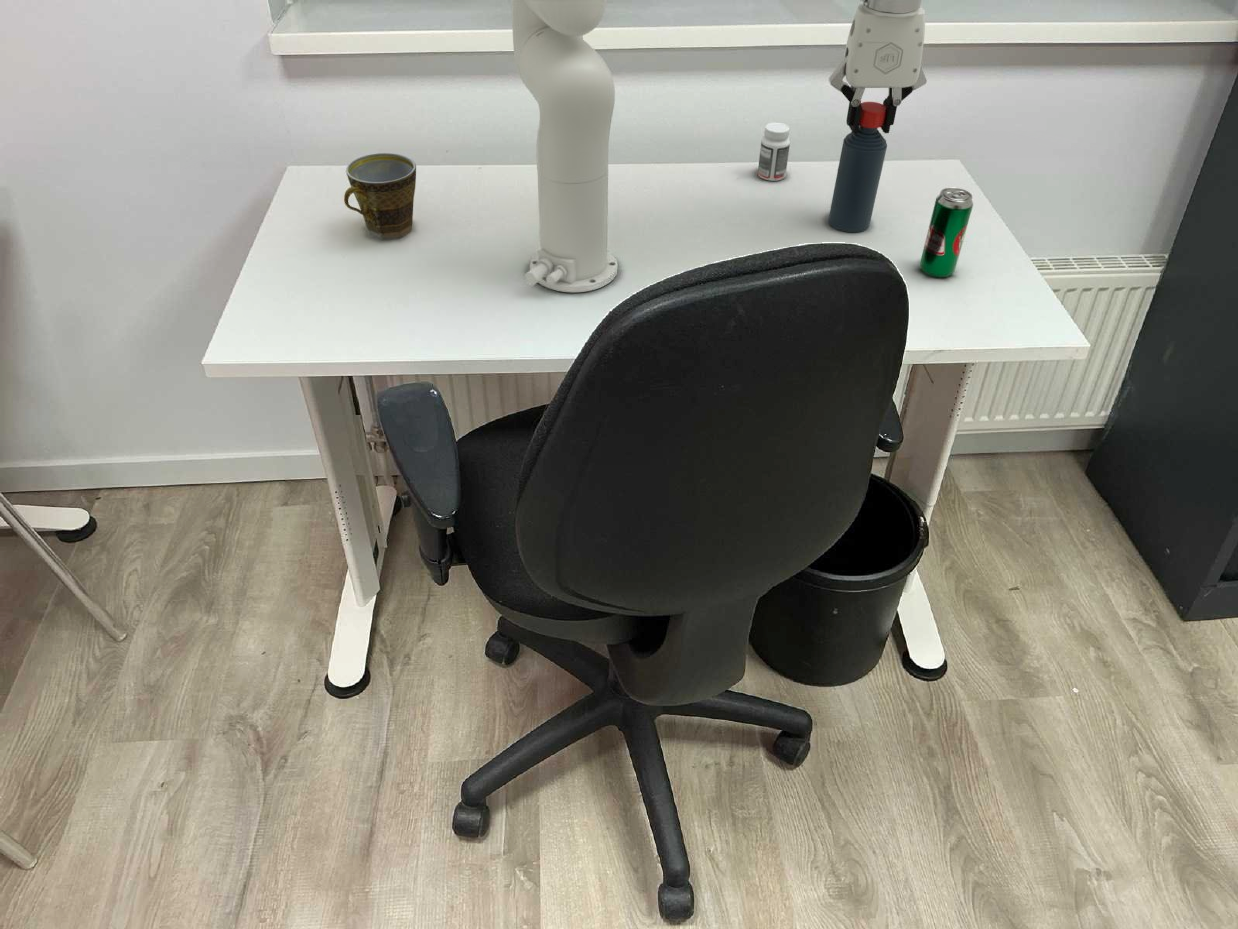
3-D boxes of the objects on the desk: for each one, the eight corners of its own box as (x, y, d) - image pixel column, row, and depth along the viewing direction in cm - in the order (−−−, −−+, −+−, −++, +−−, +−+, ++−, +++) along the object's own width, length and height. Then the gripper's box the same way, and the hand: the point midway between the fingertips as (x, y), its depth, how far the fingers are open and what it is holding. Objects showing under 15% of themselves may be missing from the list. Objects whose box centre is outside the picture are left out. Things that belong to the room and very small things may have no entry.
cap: (883, 119, 146) (886, 103, 145) (882, 129, 143) (886, 113, 142) (856, 116, 147) (859, 100, 145) (855, 126, 144) (858, 110, 142)
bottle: (869, 234, 153) (895, 121, 141) (828, 229, 154) (849, 116, 142) (869, 215, 158) (893, 104, 146) (828, 210, 158) (849, 100, 147)
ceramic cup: (386, 208, 156) (377, 146, 149) (436, 225, 152) (430, 163, 146) (328, 242, 148) (316, 179, 141) (380, 261, 144) (370, 197, 137)
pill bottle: (785, 169, 169) (791, 121, 164) (785, 182, 166) (792, 133, 160) (757, 168, 170) (763, 120, 164) (757, 180, 166) (763, 131, 160)
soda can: (911, 264, 146) (930, 188, 138) (940, 259, 148) (961, 183, 140) (931, 281, 143) (951, 204, 135) (961, 275, 144) (982, 199, 136)
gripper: (837, 6, 130) (817, 141, 143) (962, 6, 131) (931, 139, 143) (825, -11, 136) (807, 119, 148) (945, -12, 137) (917, 118, 149)
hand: (868, 128), depth 146 cm, fingers closed on cap, 3 cm apart
